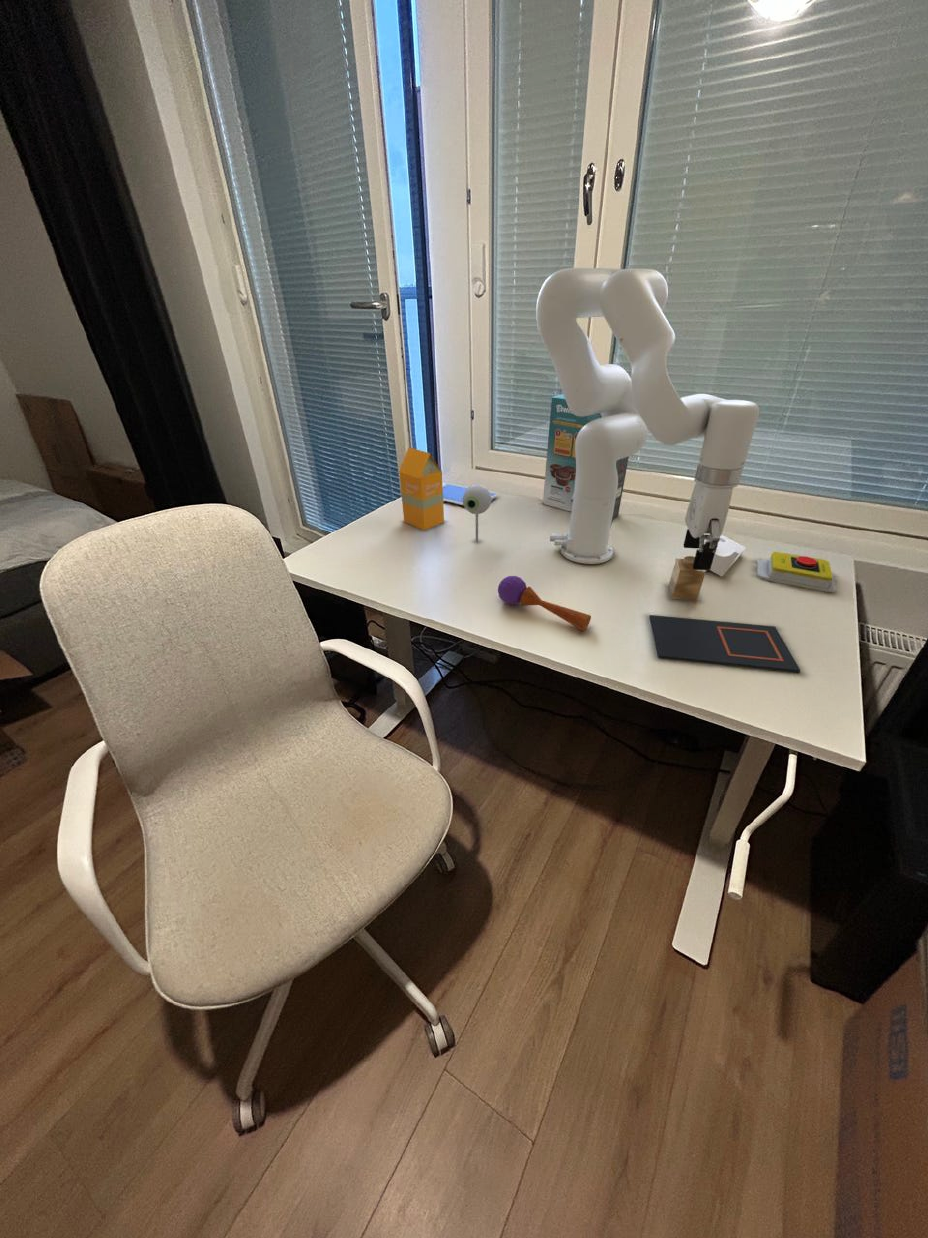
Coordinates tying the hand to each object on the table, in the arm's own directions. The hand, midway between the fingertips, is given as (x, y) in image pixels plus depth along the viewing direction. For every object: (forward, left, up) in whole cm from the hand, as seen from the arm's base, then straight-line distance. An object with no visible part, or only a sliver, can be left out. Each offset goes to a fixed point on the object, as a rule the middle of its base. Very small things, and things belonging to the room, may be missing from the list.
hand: (695, 557), depth 98 cm
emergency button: (+25, +12, -9) cm, 30 cm away
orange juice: (-66, +28, -9) cm, 72 cm away
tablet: (-59, +48, -9) cm, 76 cm away
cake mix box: (-22, +45, -9) cm, 51 cm away
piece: (-1, 0, -9) cm, 9 cm away
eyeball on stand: (-49, +18, -9) cm, 53 cm away
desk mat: (+3, -17, -9) cm, 19 cm away
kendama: (-30, -12, -9) cm, 34 cm away
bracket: (+10, +16, -9) cm, 21 cm away
